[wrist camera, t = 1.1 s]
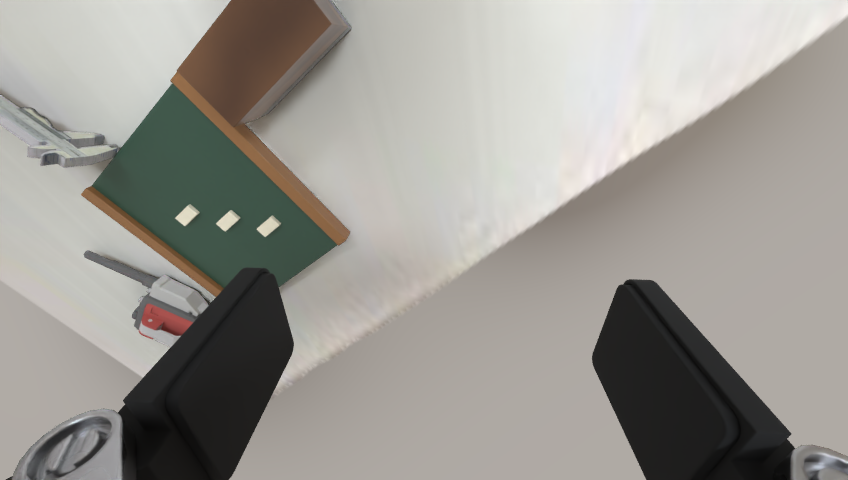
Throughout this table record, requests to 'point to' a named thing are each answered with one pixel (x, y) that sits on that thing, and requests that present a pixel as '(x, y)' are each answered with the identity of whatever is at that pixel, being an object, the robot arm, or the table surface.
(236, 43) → the eraser
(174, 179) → the chalkboard
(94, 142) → the caliper
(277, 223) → the chalk mark
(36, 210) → the table surface
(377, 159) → the table surface
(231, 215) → the chalk mark
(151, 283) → the toy chainsaw
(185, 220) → the chalk mark
